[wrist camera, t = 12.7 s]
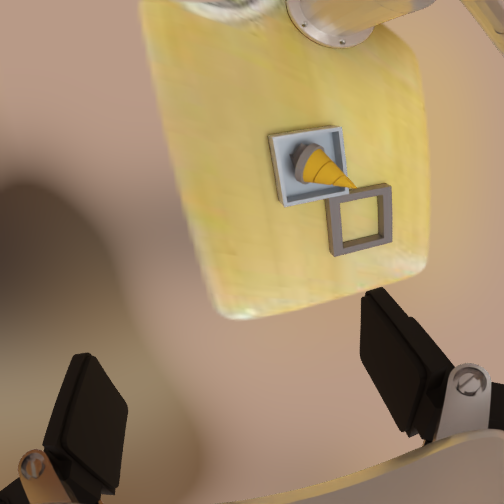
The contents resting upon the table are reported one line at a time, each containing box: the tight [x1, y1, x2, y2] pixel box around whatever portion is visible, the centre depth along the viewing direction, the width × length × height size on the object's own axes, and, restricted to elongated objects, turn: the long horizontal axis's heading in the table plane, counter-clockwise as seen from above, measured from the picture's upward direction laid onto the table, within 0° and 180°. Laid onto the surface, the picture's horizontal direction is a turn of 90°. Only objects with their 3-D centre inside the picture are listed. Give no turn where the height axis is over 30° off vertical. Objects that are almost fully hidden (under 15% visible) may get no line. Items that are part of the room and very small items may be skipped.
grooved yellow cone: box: [289, 143, 357, 189], centre depth 38 cm, size 5×5×10 cm
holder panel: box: [325, 183, 392, 257], centre depth 45 cm, size 9×10×2 cm
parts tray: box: [268, 125, 349, 207], centre depth 40 cm, size 9×9×3 cm
